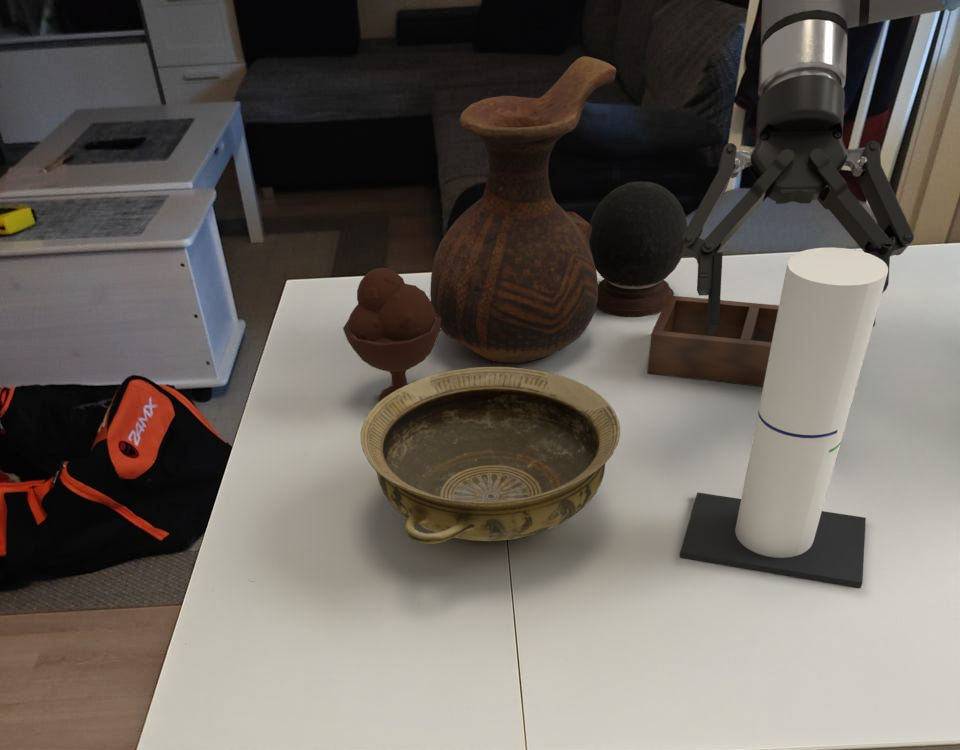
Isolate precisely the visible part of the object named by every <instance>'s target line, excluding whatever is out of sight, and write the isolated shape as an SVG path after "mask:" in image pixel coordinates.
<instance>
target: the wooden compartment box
mask: <svg viewBox="0 0 960 750" xmlns="http://www.w3.org/2000/svg"><path fill="white" fill-rule="evenodd" d="M778 308H779V304H778V305H777V304H767V303H757V302H745V301H736V300H726V299H725V300H724V299H720V315H719V326H718V328H717V330H716V332H715V334H707V314H708V298H705V297H703V298H702V297H691V296H680V295H673V296H671V295H668V297H667V300H666V302H665V304H664V306H663V309H662V311H661V312H659V313H660V314H659V315H658V318H657V320H656V322H655V325H654V327H653V329H652V332H651V334H650V341H649V350H648V351H649V353H648V363H647V374H652V375H653V374H654V375H659V376H660V375H661V376H669V377H676V378H685V379H695V380H703V381H712V382H719V383H720V382H721V383H729V384H736V385H738V384H739V385H748V386H755V387H763V385H764V380H765V375H766V370H767V365H768V359H769V354H770V349H771V344H772V339H773V334H774V329H775V324H776V319H777V313H778Z"/></svg>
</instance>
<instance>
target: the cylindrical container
mask: <svg viewBox="0 0 960 750" xmlns="http://www.w3.org/2000/svg"><path fill="white" fill-rule="evenodd" d="M887 274H888V266H887V265H886V263H885V262H884V261H883V260H881V259H879V258H878V257H876V256H874V255H871V254H868V253H865V252H864V251H863V250H858V249H852V248H846V247H815V248H809V249H805V250H801V251H798V252H796V253H794V254H792V255H791V256H790V257H789V258H788V259H787V263H786V268H785V274H784V278H783V282H782V284H783V285H782V289H781V294H780V298H779V304H778V305H779V308H778V313H777V319H776V324H775V329H774V334H773V339H772V344H771V349H770V354H769V359H768V365H767V370H766V375H765V380H764V385H763V386H762V391H761V396H760V401H759V407H758V411H757V416H756V421H755V427H754V432H753V436H752V437H753V438H752V441H751V447H750V452H749V456H748V463H747V467H746V472H745V477H744V483H743V487H742V492H741V498H740V499H741V503H740V508H739V513H738V518H737V524H736V529H735V532H736V536H737V538H738V540H739V541H740V542H741V544H742V545H744V546H745V547H746V548H748V549H749V550H751V551H753V552H755V553H758V554H761V555H764V556H768V557H775V558H786V557H793V556H797V555H800V554H802V553H804V552H806V551H807V550H808V549H809V548H810V547H811V546H812V544H813V541H814V538H815V534H816V530H817V527H818V523H819V519H820V516H821V512H822V511H823V508H824V506H825V505H824V504H825V501H826V498H827V494H828V490H829V487H830V483H831V480H832V475H833V472H834V469H835V465H836V461H837V458H838V454H839V449H840V446H841V443H842V440H843V436H844V433H845V429H846V424H847V422H848V418H849V415H850V411H851V407H852V403H853V400H854V396H855V392H856V389H857V386H858V382H859V378H860V375H861V371H862V367H863V363H864V360H865V358H866V357H865V356H866V353H867V350H868V346H869V342H870V338H871V335H872V331H873V328H874V327H873V324H874V321H875V322H876V318H877V313H878V310H879V307H880V302H881V299H882V295H883V294H882V292H883V288H884V285H885V281H886V277H887ZM883 293H884V292H883Z"/></svg>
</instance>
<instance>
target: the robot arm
mask: <svg viewBox="0 0 960 750" xmlns="http://www.w3.org/2000/svg"><path fill="white" fill-rule="evenodd" d="M959 8H960V0H761V23H760V25H761V27H760V28H761V29H760V54H759V56H760V57H759V72H758V88H757V97H758V102H757V106H756V125H755V126H756V127H755V143H754V145H755V146H754V148H753V150H743V149H742V150H741V149H738V148H737V146H736V144H735V143H733V142H728V143H726V144H725V145H724V146H723V150H722V152H721V156H720V159H719V162H718V168H717V172H716V174H715V176H714V178H713V179H712V182H711V184H710V185H709V187H708V189H707V190H706V192H705V194H704V196H703V197H702V200H701V201H700V203H699V205H698V207H697V208H696V211H695V213H694V214H693V216H692V217H691V220H690V222H689V223H688V224H687V229H686V231H685V232H684V234H683V236H682V239H681V243H680V247H679V253H680V254H681V255H682V257H690V258H691V257H692V258H694V259H695V260H696V262H697V279H696V281H697V282H696V283H697V284H696V291H697V295H698V296H708V298H707V299H708V314H707V334H715V332H716V330H717V328H718V326H719V315H720V300H721V294H722V273H723V255H724V254H723V252H719V251H720V250H721V249H722V248H723V246H724V245H725V244H726V243H727V242H728V241H729V240H731V238H732V237H733V236H734V234H736V232H737V231H738V230H739V229H740V228H741V227H742V226H743V225H744V223H745V222H746V221H747V220H748V219H749V218H750V217H751V216H752V215H753V214H754V212H755V211H757V210H758V209H759V208H760V207H761V206H762V205H763V204H764V203H765V202H766V201H767V200H768V198H769V199H770V200H772V201H774V202H775V204H776V205H784V204H788V203H791V202H794V203H798V204H811V202H813V201H815V200H817V201H818V202H819V203H820V205H821V206H822V208H824V209H825V210H829V211H830V213H832V215H833V216H834V217H835V219H836V220H837V221H838V222H839V224H840V225H841V226H842V227H843V228H844V230H845V231H846V232H847V233H848V234H849V236H850V237H851V238H852V239H853V240H854V242H855V243H856V244H857V246H859V247H860V249H861V251H862V252H865V253H868V254H871V255H874V256H876V257H878V258H879V259H881V260H883V261H884V262H885V263H886V265H887V266H888V274H887V277H886V281H885V285H884V288H883V292H882V295H883V294H884V292H886V291H887V289H888V286H889V282H890V280H889V279H890V263H891V262H890V261H891V257H894V256H900V255H901V254H903V253H904V251H906V250H907V248H908V247H909V246H910V245H911V243H912V242H913V241H914V238H915V236H914V232H913V230H912V229H911V226H910V224H909V222H908V220H907V217H906V215H905V213H904V211H903V209H902V207H901V205H900V203H899V200H898V198H897V196H896V194H895V192H894V190H893V188H892V185H891V183H890V181H889V179H888V177H887V174H886V173H885V170H884V168H883V166H882V160H881V147H880V146H881V145H880V143H879V142H878V141H877V140H869V141H868V142H867V143H866V144H865V147H857V148H849V149H847V147H846V146H845V143H844V140H843V134H844V117H845V115H844V114H845V99H846V98H845V97H846V96H845V94H846V93H845V89H844V87H845V86H846V79H847V57H848V38H849V29H851V28H856V27H864V26H868V25H871V24H876V23H882V22H887V21H891V20H897V19H898V20H899V19H902V18H909V17H913V16H914V17H915V16H920V15H924V14H931V13H935V12H942V11H947V12H953V11H955V10H957V9H959ZM843 167H848V168H849V169H850V170H851V173H852V175H853V176H854V177H857V178H858V183H859V186H860V188H861V190H862V192H863V195H864V198H865V199H866V201H867V204H868V206H869V208H870V210H871V213H872V214H873V216H874V218H875V219H874V218H873V217H872V216H871V214H870V213H869V212H868V211H867V209H866V208H865V207H864V206H863V205H862V203H861V202H860V201H859V200H858V199H857V197H856V196H855V195H854V194H853V192H852V191H851V190H850V189H849V187H848V183H847V181H846V180H845V178H844V177H843V176H842V175H841V174H840V172H841V170H842V169H843ZM745 168H748V170H749V172H750V174H751V175H752V177H754V179H755V180H756V181H755V182H754V183H753V185H752V186H751V187H750V189H749V190H748V191H747V192H746V193H745V194H744V196H743V197H742V198H741V199H740V200H739V201H738V202H737V203H736V204H735V206H734V207H733V208H732V209H731V210H730V211H729V212H728V213H727V214H726V215H725V216H724V218H723V219H722V220H721V221H720V222H719V223H718V224H717V225H716V226H715V228H714V229H713V230H712V231H710V233H709V234H708V235H707V237H705V239H703V238H701V236H702V234H703V232H704V230H705V228H706V227H707V225H708V223H709V221H710V219H711V217H712V216H713V214H714V212H715V210H716V209H717V207H718V205H719V203H720V202H721V200H722V197H723V196H724V195H725V192H726V191H727V188H728V186H729V183H730V180H731V179H734V178H737V177H738V176H739V175H740V174H741V172H742V171H743V170H744V169H745ZM875 326H876V320H875V321H874V324H873V328H874V327H875Z"/></svg>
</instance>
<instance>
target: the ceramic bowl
mask: <svg viewBox="0 0 960 750" xmlns="http://www.w3.org/2000/svg"><path fill="white" fill-rule="evenodd" d="M407 384H408V385H406V386H404V387H402V388H400V389H398V390H396V391H394V392H392V393H391V394H389V395H388V396H386V397H385V398H383V399H382V400H381V401H379V402H378V401H377V403H376V404H375V405H374V406H373V407H372V408H371V409H370V411H369V412H368V413H367V415H366V417H365V419H364V421H363V423H362V427H361V430H360V444H361V448H362V452H363V454H364V456H365V458H366V459H367V462H368V464H370V466H371V468H372V469H373V470H375V472H376V476H377V480H378V484H379V486H380V489H381V492H382V493H383V495H384V496H385V498H386V499H387V501H388V502H389V503H390V504H391V506H392V507H393V508H394V509H395V510H397V511H398V512H399V513H400V514H401V515H402V516H403V517H404V518H406V521H405V524H404V531H405V533H406V535H407V537H409V539H410V540H412V541H415V542H416V543H419V544H424V545H434V544H440V543H444V542H446V541H449V540H452V539H453V538H456V539H461V540H466V541H475V542H476V541H477V542H499V541H507V540H508V541H510V540H517V539H522V538H525V537H528V536H529V537H530V536H533V535H538V534H540V533H543V532H545V531H548V530H550V529H553V528H555V527H557V526H559V525H561V524H564V522H566V521H568V520H569V519H571V518H573V516H575V515H576V514H577V513H580V511H581V510H582V509H583V508H584V507H586V506H587V505H588V504H589V502H591V500H592V499H593V497H594V496H595V495H596V494H597V492H598V490H599V488H600V487H601V484H602V482H603V478H604V475H605V471H606V463H608V461H609V460H610V459H611V458H612V456H613V454H614V453H615V451H616V449H617V448H618V445H619V442H620V437H621V425H620V419H619V417H618V415H617V413H616V411H615V410H614V408H613V407H612V405H611V404H610V403H609V401H608V400H607V399H605V398H604V397H603V396H602V394H600V393H598V392H597V391H596V390H594V389H593V388H591V387H590V386H589V385H587V384H584V383H581V382H579V381H577V380H574V379H572V378H569V377H566V376H563V375H560V374H556V373H552V372H547V371H542V370H536V369H529V368H521V367H511V366H481V367H479V366H478V367H477V366H476V367H468V368H467V367H466V368H460V369H454V370H449V371H445V372H440V373H435V374H432V375H429V376H424V377H422V378H420V379H417V380H415V381H413V382H410V383H407ZM417 526H419V527H421V528H423V529H425V530H428V531H430V532H431V533H430V532H429V533H427V532H426V533H425V532H421V531H419V530H417V529H416V528H417Z"/></svg>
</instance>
